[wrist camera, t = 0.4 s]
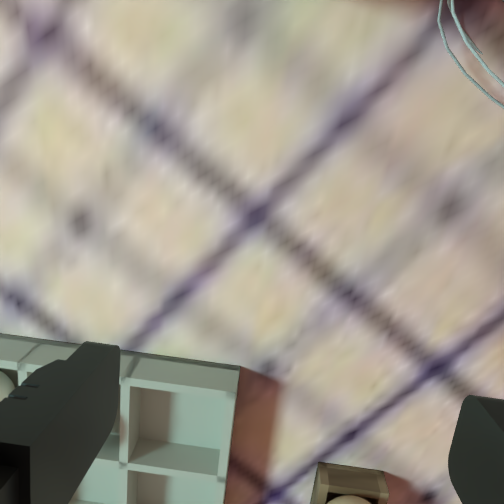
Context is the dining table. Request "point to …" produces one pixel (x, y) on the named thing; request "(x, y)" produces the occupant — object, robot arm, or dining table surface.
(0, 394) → the cream egg
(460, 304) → the dining table surface
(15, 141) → the dining table surface
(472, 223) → the dining table surface
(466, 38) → the kitchen whisk
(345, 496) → the beige sphere
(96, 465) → the egg carton
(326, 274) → the dining table surface
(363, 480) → the egg stand
